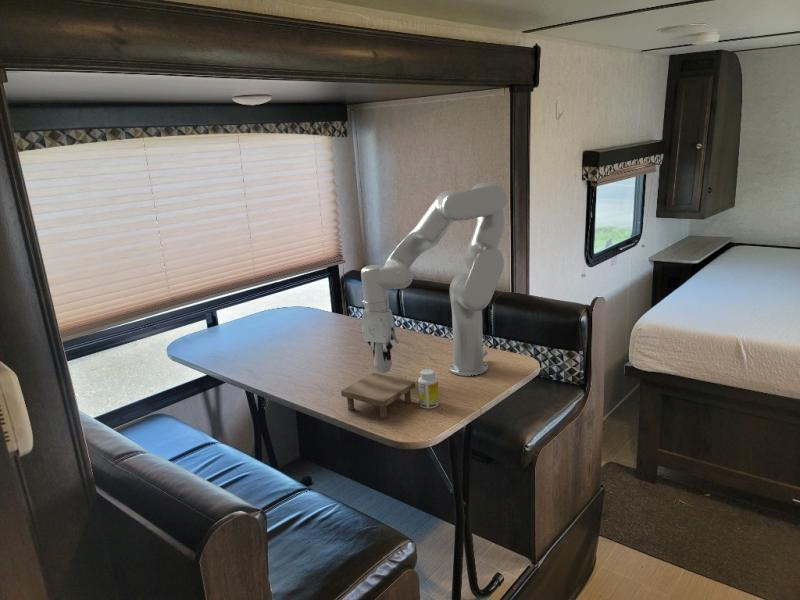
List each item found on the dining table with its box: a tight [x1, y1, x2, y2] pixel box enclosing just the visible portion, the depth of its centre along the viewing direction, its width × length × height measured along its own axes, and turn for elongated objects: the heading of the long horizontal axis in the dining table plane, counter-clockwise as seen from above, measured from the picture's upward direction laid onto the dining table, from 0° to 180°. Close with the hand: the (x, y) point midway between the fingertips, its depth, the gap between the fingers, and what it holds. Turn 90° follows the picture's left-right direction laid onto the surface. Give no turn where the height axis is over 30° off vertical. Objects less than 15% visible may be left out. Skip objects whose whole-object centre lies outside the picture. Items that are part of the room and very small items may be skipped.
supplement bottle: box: [417, 368, 440, 410], centre depth 161 cm, size 6×6×10 cm
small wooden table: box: [340, 372, 416, 421], centre depth 163 cm, size 15×15×6 cm
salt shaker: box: [373, 342, 393, 374], centre depth 180 cm, size 6×6×13 cm
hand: (382, 360), depth 180 cm, fingers closed on salt shaker, 3 cm apart
